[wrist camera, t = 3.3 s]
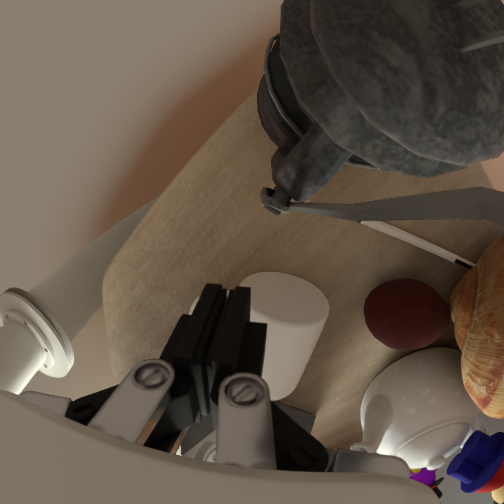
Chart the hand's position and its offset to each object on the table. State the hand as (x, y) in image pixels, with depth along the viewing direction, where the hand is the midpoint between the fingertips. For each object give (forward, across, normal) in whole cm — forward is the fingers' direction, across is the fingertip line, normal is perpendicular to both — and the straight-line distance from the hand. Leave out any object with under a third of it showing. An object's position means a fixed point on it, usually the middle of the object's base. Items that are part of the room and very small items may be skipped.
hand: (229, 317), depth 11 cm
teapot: (+16, -23, +23) cm, 37 cm away
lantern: (+16, -4, -9) cm, 19 cm away
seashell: (+3, -30, +2) cm, 30 cm away
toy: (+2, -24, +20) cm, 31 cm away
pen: (+16, -16, +2) cm, 23 cm away
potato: (+16, -15, +9) cm, 24 cm away
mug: (+16, 0, +11) cm, 20 cm away
